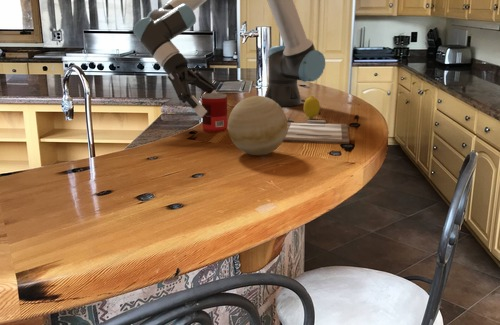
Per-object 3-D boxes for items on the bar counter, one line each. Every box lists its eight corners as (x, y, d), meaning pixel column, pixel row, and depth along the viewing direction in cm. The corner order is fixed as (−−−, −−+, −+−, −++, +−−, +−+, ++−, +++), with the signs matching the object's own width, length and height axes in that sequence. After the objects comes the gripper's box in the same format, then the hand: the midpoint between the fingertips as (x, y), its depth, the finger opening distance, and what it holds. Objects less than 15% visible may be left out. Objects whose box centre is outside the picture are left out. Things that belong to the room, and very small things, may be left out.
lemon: (318, 120, 178) (319, 97, 176) (302, 120, 179) (303, 96, 177) (319, 117, 183) (320, 95, 181) (304, 117, 184) (304, 94, 182)
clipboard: (285, 123, 173) (285, 119, 172) (347, 125, 170) (347, 121, 170) (277, 141, 148) (277, 136, 148) (349, 143, 145) (349, 138, 145)
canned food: (231, 128, 166) (230, 93, 163) (221, 133, 159) (221, 97, 156) (208, 126, 168) (208, 92, 166) (198, 131, 161) (197, 96, 158)
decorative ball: (298, 156, 132) (300, 97, 128) (248, 165, 124) (248, 102, 120) (265, 144, 144) (266, 90, 140) (217, 152, 136) (216, 94, 132)
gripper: (184, 65, 176) (225, 112, 174) (141, 72, 154) (186, 126, 152) (198, 49, 173) (239, 97, 171) (155, 54, 151) (202, 109, 149)
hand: (214, 111), depth 162 cm, fingers open, 13 cm apart
